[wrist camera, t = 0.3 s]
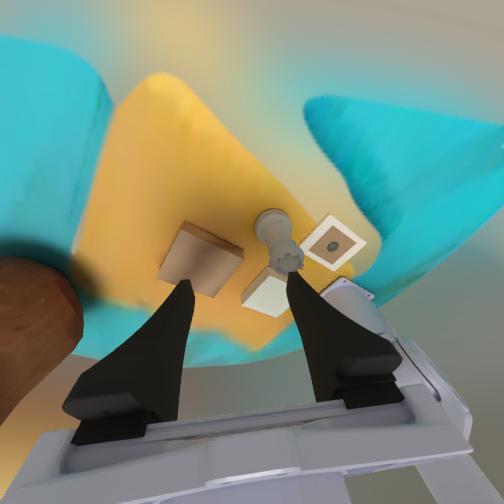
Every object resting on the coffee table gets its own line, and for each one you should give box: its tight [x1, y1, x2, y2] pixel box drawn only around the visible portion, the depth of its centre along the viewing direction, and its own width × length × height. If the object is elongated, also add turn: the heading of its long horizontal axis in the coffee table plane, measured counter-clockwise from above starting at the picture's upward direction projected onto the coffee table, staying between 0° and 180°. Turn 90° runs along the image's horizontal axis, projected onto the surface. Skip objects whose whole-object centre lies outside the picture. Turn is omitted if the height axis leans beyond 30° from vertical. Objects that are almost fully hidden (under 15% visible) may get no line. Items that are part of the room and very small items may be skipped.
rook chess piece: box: [254, 209, 304, 277], centre depth 19 cm, size 4×4×8 cm
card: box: [298, 213, 367, 271], centre depth 25 cm, size 8×6×1 cm
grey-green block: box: [241, 266, 290, 318], centre depth 28 cm, size 7×7×2 cm
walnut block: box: [156, 221, 244, 298], centre depth 23 cm, size 8×8×2 cm
